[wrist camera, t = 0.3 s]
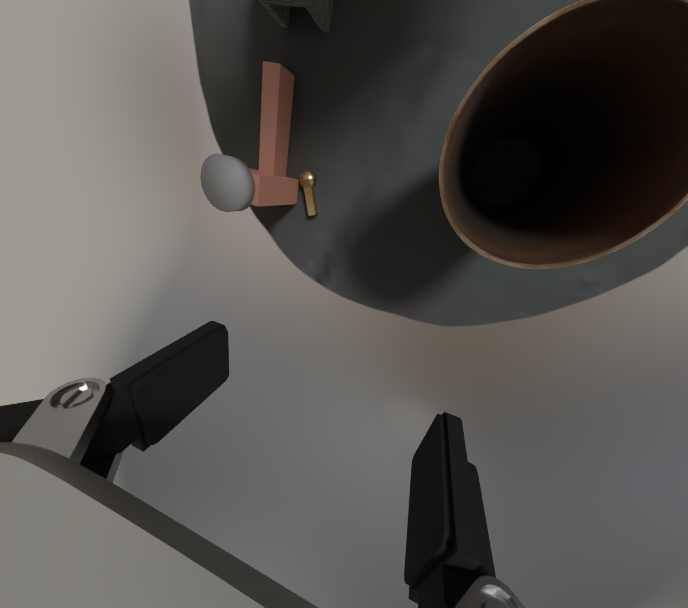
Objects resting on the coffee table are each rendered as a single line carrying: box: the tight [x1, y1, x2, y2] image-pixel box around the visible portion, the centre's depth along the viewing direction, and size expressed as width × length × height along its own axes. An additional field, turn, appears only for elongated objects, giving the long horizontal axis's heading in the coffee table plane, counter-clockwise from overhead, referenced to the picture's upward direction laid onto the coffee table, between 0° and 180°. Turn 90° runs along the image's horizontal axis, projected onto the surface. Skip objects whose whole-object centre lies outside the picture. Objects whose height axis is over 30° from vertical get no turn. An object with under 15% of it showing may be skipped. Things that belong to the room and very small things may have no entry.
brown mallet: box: [201, 61, 299, 212], centre depth 31 cm, size 17×7×12 cm, turn 167°
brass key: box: [299, 171, 318, 216], centre depth 37 cm, size 6×2×1 cm, turn 8°
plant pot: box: [439, 0, 688, 269], centre depth 23 cm, size 15×15×16 cm
